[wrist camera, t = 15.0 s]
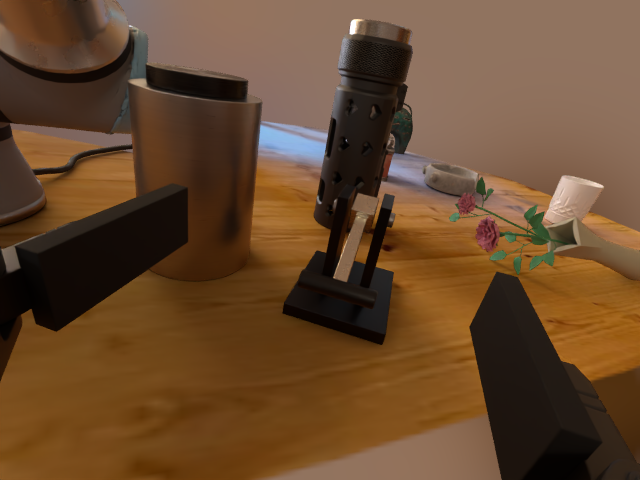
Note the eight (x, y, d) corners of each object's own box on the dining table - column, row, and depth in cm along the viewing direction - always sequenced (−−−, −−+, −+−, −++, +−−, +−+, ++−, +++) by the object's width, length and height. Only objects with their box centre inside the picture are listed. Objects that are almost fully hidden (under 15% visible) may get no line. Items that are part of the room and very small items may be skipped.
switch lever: (370, 316, 26) (376, 297, 24) (296, 294, 27) (298, 274, 25) (392, 221, 34) (398, 202, 33) (336, 207, 35) (339, 188, 34)
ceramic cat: (357, 149, 113) (371, 85, 104) (350, 145, 118) (363, 83, 110) (408, 155, 120) (425, 95, 111) (399, 151, 125) (415, 93, 116)
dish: (471, 187, 93) (477, 169, 91) (480, 202, 81) (488, 183, 79) (418, 175, 95) (424, 158, 93) (420, 188, 83) (426, 169, 81)
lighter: (371, 171, 91) (380, 133, 86) (383, 173, 91) (393, 135, 86) (375, 179, 83) (386, 138, 79) (388, 182, 84) (400, 141, 79)
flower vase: (613, 325, 56) (450, 280, 44) (570, 269, 64) (424, 218, 53) (692, 284, 48) (521, 216, 37) (632, 227, 57) (477, 156, 45)
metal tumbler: (216, 293, 34) (225, 83, 25) (115, 261, 36) (90, 54, 27) (264, 244, 45) (281, 84, 36) (183, 221, 46) (182, 64, 38)
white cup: (566, 230, 73) (591, 187, 68) (534, 215, 79) (554, 174, 75) (587, 229, 76) (612, 188, 72) (554, 215, 82) (575, 176, 78)
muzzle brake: (361, 211, 62) (307, 207, 59) (404, 36, 50) (337, 21, 47) (380, 235, 54) (318, 231, 51) (437, 33, 41) (359, 14, 39)
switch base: (382, 345, 32) (420, 233, 26) (282, 313, 33) (299, 201, 28) (391, 280, 42) (419, 191, 37) (315, 258, 44) (331, 170, 38)
